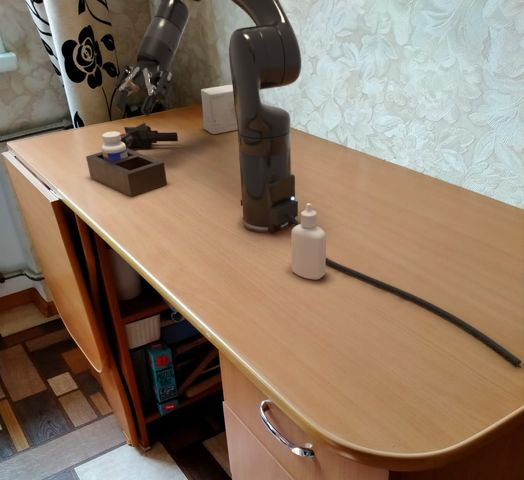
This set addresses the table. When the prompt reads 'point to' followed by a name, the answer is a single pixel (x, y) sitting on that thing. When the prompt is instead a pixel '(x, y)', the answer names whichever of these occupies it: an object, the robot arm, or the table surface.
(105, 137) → the pill bottle
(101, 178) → the rack
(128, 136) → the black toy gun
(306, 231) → the eye dropper bottle
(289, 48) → the robot arm
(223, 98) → the cosmetics box
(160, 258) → the table surface
